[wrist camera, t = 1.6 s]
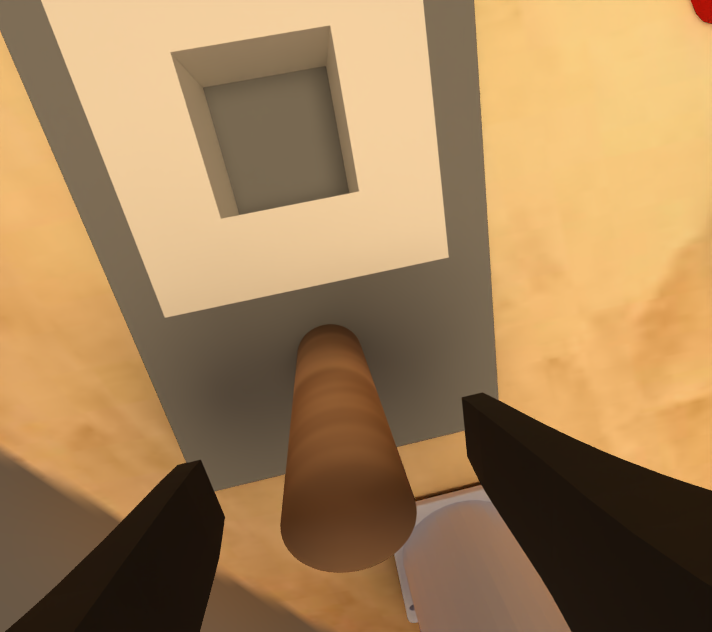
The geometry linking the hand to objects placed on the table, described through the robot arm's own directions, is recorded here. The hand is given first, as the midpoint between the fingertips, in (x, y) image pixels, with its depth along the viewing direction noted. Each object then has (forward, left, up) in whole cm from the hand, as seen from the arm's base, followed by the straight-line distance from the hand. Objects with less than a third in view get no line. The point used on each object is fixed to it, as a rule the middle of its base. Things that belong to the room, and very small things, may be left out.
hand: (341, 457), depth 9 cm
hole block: (+9, 0, -7) cm, 11 cm away
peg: (0, 0, -7) cm, 7 cm away
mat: (+5, 0, -7) cm, 9 cm away
